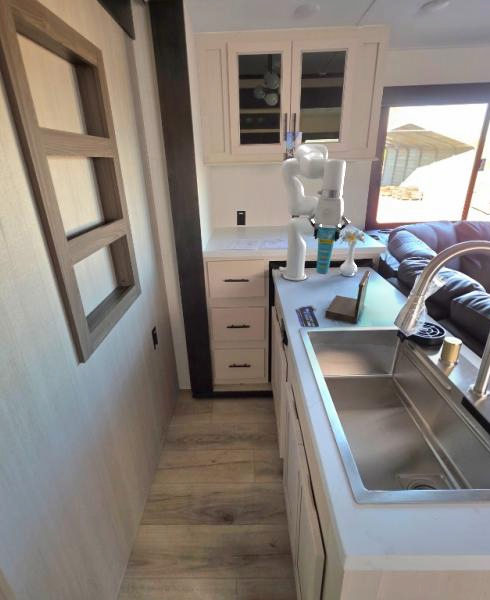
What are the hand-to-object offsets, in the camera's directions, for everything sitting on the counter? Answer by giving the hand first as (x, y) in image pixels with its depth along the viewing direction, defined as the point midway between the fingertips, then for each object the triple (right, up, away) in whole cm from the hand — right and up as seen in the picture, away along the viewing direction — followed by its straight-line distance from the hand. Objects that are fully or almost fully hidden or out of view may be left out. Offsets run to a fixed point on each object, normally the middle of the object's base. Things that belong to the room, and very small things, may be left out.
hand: (326, 239), depth 128 cm
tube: (0, -13, +6) cm, 14 cm away
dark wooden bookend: (+9, -30, +3) cm, 31 cm away
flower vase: (+24, -11, +46) cm, 53 cm away
